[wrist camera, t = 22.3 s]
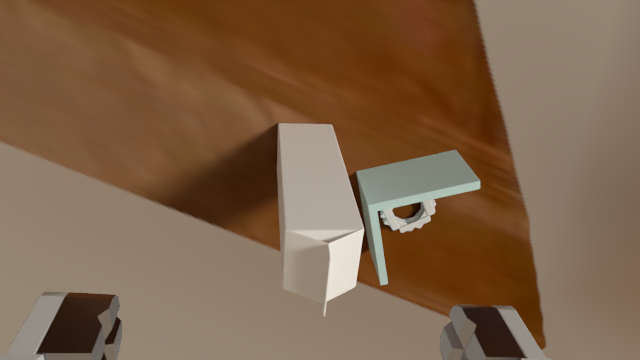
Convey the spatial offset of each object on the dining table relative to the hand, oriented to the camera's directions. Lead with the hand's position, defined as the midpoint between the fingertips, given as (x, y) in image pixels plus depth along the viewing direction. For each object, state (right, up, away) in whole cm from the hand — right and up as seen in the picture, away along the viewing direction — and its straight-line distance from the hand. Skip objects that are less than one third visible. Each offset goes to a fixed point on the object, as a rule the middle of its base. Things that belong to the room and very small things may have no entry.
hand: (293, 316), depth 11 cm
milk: (-1, +7, +40) cm, 40 cm away
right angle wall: (+12, +1, +46) cm, 47 cm away
